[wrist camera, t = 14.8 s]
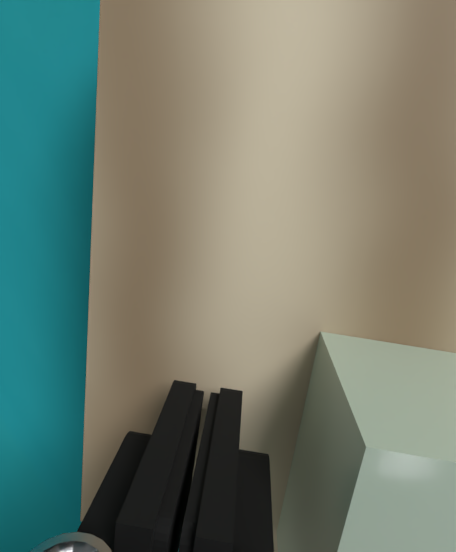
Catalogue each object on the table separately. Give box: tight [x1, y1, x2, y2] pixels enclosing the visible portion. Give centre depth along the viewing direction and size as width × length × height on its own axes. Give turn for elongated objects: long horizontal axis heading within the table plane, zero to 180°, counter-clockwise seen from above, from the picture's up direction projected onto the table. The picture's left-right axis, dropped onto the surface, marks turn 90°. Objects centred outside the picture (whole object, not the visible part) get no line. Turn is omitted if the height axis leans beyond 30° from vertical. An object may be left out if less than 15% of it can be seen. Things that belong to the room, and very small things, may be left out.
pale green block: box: [277, 332, 456, 552], centre depth 8 cm, size 6×6×4 cm
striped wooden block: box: [80, 0, 456, 552], centre depth 12 cm, size 15×16×6 cm
